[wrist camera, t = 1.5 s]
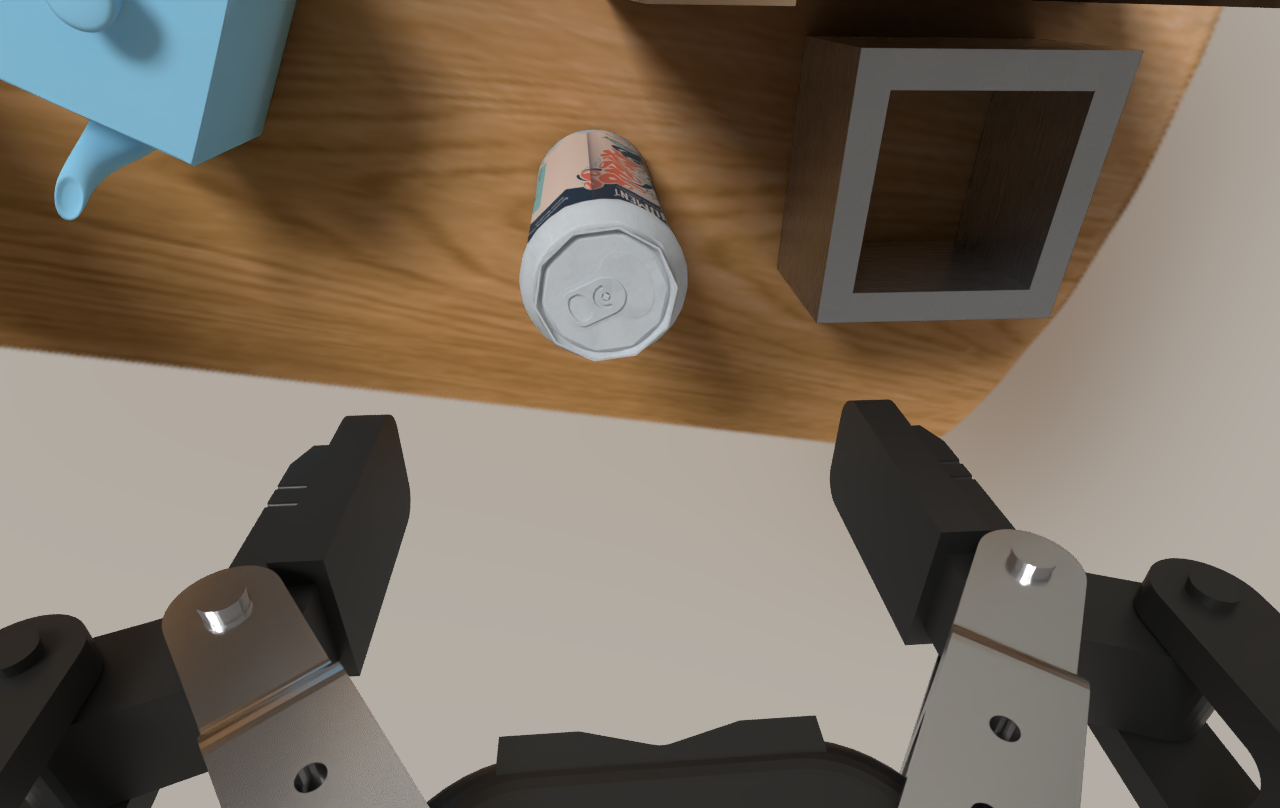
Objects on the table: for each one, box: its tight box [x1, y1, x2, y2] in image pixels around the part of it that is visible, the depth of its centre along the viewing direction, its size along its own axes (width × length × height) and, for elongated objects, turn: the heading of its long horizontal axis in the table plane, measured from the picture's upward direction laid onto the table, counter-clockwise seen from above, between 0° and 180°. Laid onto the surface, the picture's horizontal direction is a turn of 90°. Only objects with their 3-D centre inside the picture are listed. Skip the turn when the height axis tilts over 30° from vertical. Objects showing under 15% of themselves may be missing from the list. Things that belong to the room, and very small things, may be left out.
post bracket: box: [777, 36, 1143, 323], centre depth 27 cm, size 9×9×6 cm
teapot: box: [0, 0, 297, 221], centre depth 21 cm, size 12×6×8 cm, turn 151°
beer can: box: [519, 129, 688, 361], centre depth 24 cm, size 5×5×12 cm
